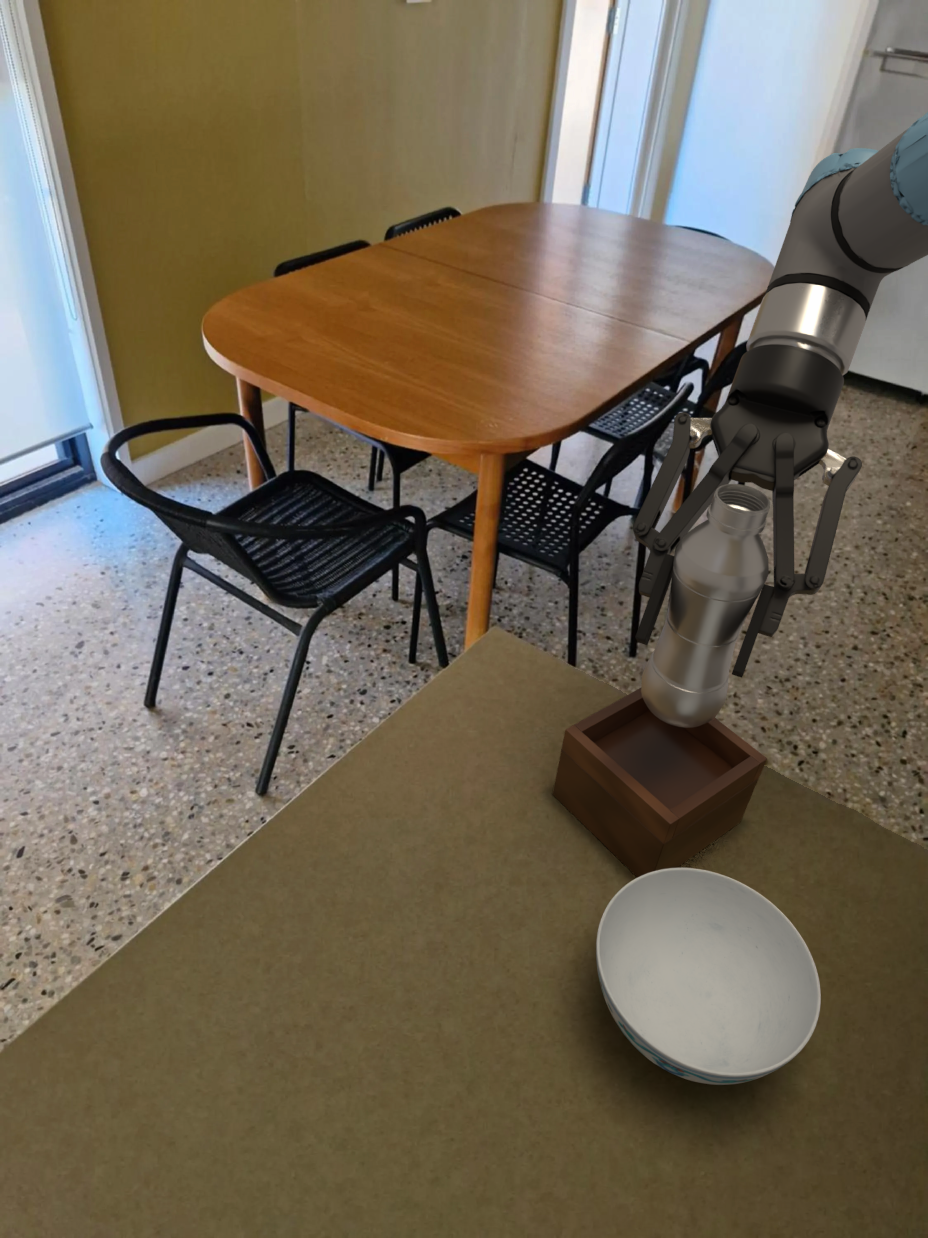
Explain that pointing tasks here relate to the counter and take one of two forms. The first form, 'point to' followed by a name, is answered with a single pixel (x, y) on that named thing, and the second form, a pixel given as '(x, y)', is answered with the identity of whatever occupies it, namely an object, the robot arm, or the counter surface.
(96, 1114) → the counter surface
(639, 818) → the walnut box
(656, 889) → the chinaware
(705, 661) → the metal bottle
